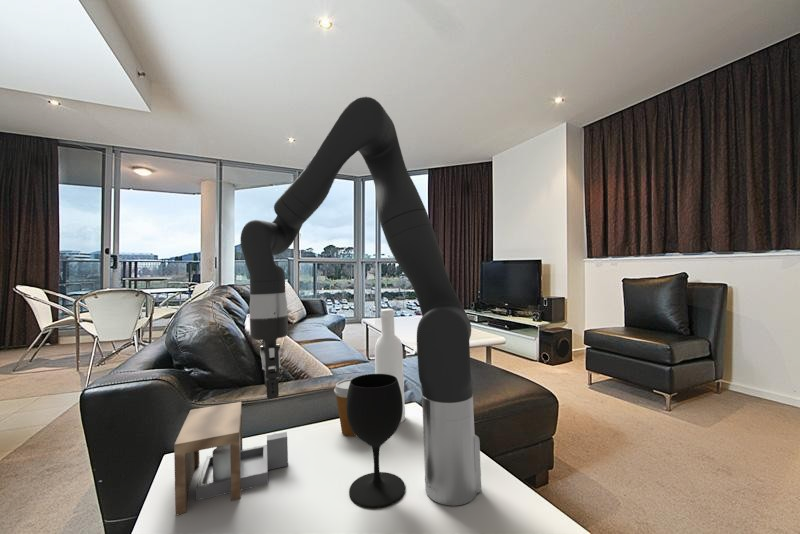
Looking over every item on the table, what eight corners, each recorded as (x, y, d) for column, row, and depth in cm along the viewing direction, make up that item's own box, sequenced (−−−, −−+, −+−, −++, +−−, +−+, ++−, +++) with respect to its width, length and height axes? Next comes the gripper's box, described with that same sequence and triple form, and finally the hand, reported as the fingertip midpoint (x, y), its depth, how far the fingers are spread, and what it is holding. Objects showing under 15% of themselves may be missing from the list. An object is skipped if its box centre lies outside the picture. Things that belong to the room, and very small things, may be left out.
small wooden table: (242, 454, 78) (241, 401, 79) (240, 498, 62) (239, 432, 63) (191, 465, 74) (190, 409, 75) (175, 515, 58) (174, 444, 59)
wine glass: (399, 512, 57) (395, 390, 58) (340, 505, 59) (336, 388, 60) (410, 476, 67) (406, 372, 68) (359, 471, 70) (356, 371, 70)
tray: (286, 452, 79) (285, 421, 79) (289, 480, 68) (288, 444, 68) (207, 468, 73) (206, 435, 74) (196, 501, 62) (195, 462, 62)
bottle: (383, 412, 100) (379, 308, 101) (409, 415, 97) (405, 308, 98) (371, 423, 92) (368, 311, 93) (399, 427, 90) (395, 311, 90)
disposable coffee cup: (349, 443, 82) (347, 392, 82) (328, 431, 89) (326, 383, 89) (380, 430, 88) (378, 382, 88) (358, 419, 95) (357, 375, 96)
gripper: (290, 316, 69) (293, 398, 68) (284, 311, 82) (286, 380, 81) (249, 319, 66) (252, 406, 65) (249, 313, 79) (252, 385, 78)
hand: (271, 391), depth 73 cm, fingers open, 8 cm apart
